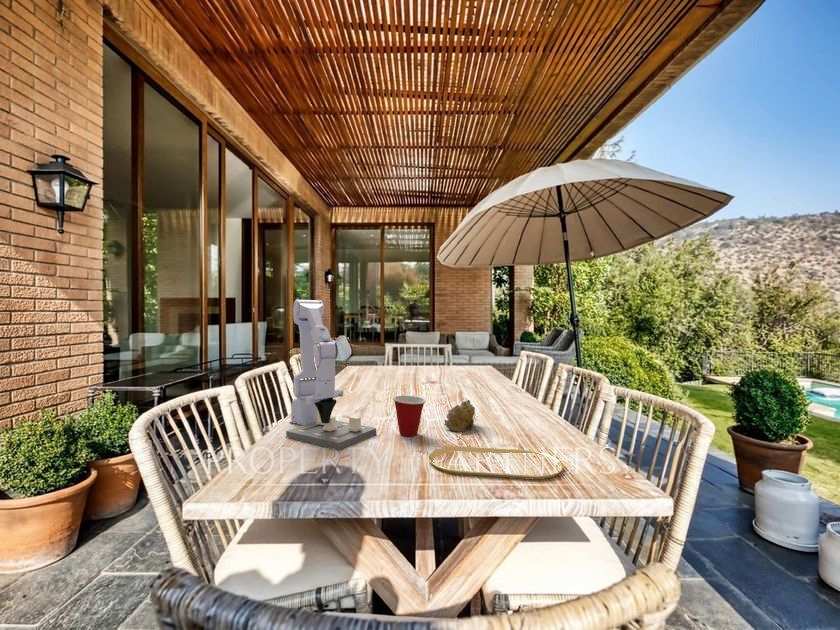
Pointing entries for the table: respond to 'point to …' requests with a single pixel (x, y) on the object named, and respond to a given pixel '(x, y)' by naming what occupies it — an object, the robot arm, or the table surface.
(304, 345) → the robot arm
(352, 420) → the right switch
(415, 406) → the plastic cup
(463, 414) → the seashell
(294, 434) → the switch panel
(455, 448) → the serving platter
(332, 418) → the switch
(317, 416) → the left switch
